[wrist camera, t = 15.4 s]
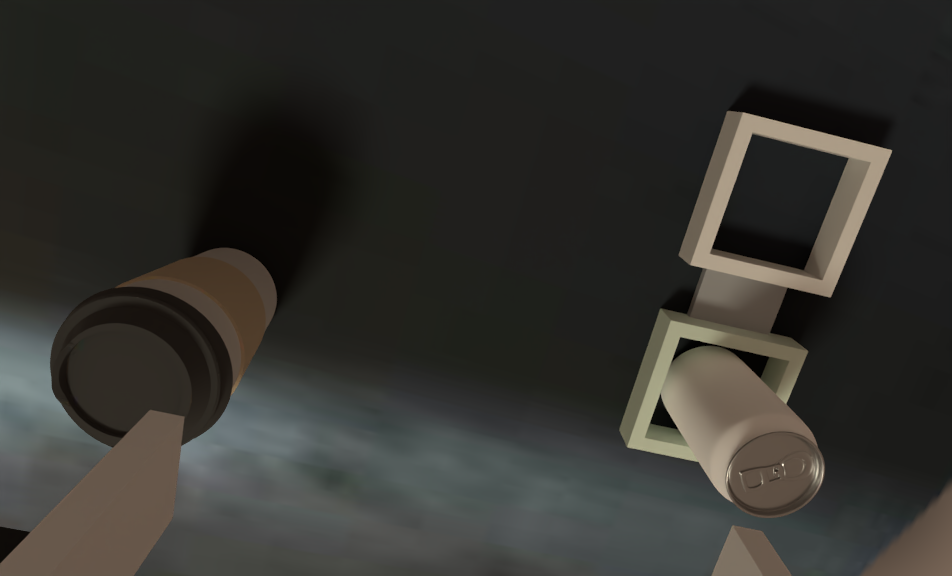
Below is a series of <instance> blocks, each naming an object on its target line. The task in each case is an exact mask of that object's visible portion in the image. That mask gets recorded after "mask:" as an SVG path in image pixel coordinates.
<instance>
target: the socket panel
mask: <svg viewBox="0 0 952 576" xmlns="http://www.w3.org/2000/svg"><path fill="white" fill-rule="evenodd" d="M752 134H755V135H759V136H763V137H767V138H771V139H775V140H779V141H783V142H787V143H791V144H795V145H799V146H803V147H807V148H811V149H815V150H819V151H823V152H827V153H831V154H835V155H839V156H842V157H846V158H849V159H848V162H847V164H846V167H845V169H844V172H843V174H842V177H841V179H840V182H839V184H838V187H837V189H836V192H835V194H834V197H833V199H832V202H831V204H830V207H829V209H828V212H827V214H826V217H825V219H824V222H823V224H822V227H821V229H820V232H819V234H818V237H817V239H816V242H815V244H814V246H813V249H812V251H811V254H810V256H809V259H808V261H807V264H806V266H805V269H804V270H801V269H797V268H792V267H788V266H784V265H779V264H775V263H771V262H767V261H762V260H758V259H754V258H750V257H745V256H741V255H737V254H733V253H728V252H724V251H720V250H716V249H711V248H712V246H713V243H714V240H715V237H716V234H717V232H718V229H719V226H720V223H721V220H722V217H723V215H724V212H725V209H726V206H727V203H728V200H729V198H730V195H731V192H732V189H733V186H734V183H735V181H736V178H737V175H738V172H739V169H740V166H741V164H742V161H743V158H744V155H745V152H746V150H747V147H748V144H749V141H750V138H751V135H752ZM891 152H892V150H889V149H885V148H881V147H877V146H873V145H869V144H865V143H861V142H857V141H854V140H850V139H846V138H842V137H838V136H834V135H830V134H826V133H822V132H818V131H814V130H810V129H806V128H802V127H799V126H795V125H791V124H787V123H783V122H779V121H775V120H771V119H767V118H763V117H759V116H755V115H751V114H747V113H744V112H734V111H727V114H726V117H725V120H724V123H723V126H722V128H721V131H720V134H719V137H718V140H717V143H716V146H715V149H714V152H713V155H712V158H711V161H710V164H709V167H708V170H707V173H706V176H705V179H704V182H703V184H702V187H701V190H700V193H699V196H698V199H697V202H696V205H695V208H694V211H693V214H692V217H691V220H690V223H689V226H688V229H687V232H686V235H685V237H684V240H683V243H682V246H681V249H680V252H679V255H678V256H680V257H681V258H682V259H683V260H685V261H686V262H687V263H688V264H690V265H693V266H697V267H701V268H703V270H702V273H701V276H700V279H699V281H698V284H697V287H696V290H695V293H694V296H693V298H692V301H691V304H690V307H689V310H688V313H687V314H684V313H679V312H675V311H670V310H666V309H661V308H660V311H659V314H658V317H657V320H656V323H655V326H654V329H653V332H652V335H651V338H650V341H649V344H648V346H647V349H646V352H645V355H644V358H643V361H642V364H641V367H640V370H639V373H638V376H637V379H636V382H635V385H634V388H633V391H632V394H631V397H630V400H629V402H628V405H627V408H626V411H625V414H624V417H623V420H622V423H621V426H620V429H619V430H620V432H621V435H622V437H623V439H624V441H625V444H626V446H627V447H629V448H634V449H639V450H643V451H648V452H653V453H658V454H663V455H668V456H673V457H677V458H682V459H687V460H692V461H697V462H699V461H698V460H697V458H696V457H695V455H694V453H693V452H692V450H691V449H690V447H689V445H688V444H687V442H686V440H685V439H684V437H683V436H682V434H681V432H680V431H679V430H677V429H673V428H668V427H663V426H658V425H654V424H650V421H651V418H652V415H653V412H654V410H655V407H656V404H657V401H658V398H659V395H660V393H661V390H662V387H663V384H664V381H665V379H666V376H667V373H668V370H669V367H670V364H671V362H672V359H673V356H674V353H675V350H676V347H677V345H678V342H679V339H680V337H683V338H688V339H692V340H697V341H701V342H706V343H710V344H715V345H719V346H724V347H728V348H733V349H737V350H742V351H746V352H751V353H755V354H760V355H764V356H769V359H768V361H767V364H766V366H765V369H764V371H763V374H762V376H761V380H762V381H763V382H764V383H765V384H766V385H767V386H768V387H769V388H770V389H771V390H772V391H773V392H774V393H775V394H776V395H777V396H778V397H779V398H780V399H781V400H782V401H783V402H784V403H785V404H786V403H787V401H788V398H789V396H790V393H791V391H792V389H793V386H794V384H795V382H796V379H797V377H798V374H799V372H800V370H801V367H802V365H803V362H804V360H805V358H806V355H807V353H808V351H807V350H806V349H805V348H804V347H802V346H801V345H800V344H798V343H797V342H796V341H795V340H793V339H792V338H790V337H786V336H781V335H777V334H772V333H770V331H771V328H772V326H773V323H774V321H775V318H776V316H777V313H778V311H779V308H780V306H781V303H782V301H783V298H784V296H785V293H786V291H787V288H792V289H796V290H801V291H805V292H809V293H813V294H818V295H822V296H826V297H831V296H832V293H833V291H834V288H835V286H836V284H837V281H838V279H839V276H840V274H841V272H842V269H843V267H844V265H845V262H846V260H847V257H848V255H849V253H850V250H851V248H852V245H853V243H854V241H855V238H856V236H857V233H858V231H859V229H860V226H861V224H862V222H863V219H864V217H865V214H866V212H867V210H868V207H869V205H870V202H871V200H872V198H873V195H874V193H875V190H876V188H877V186H878V183H879V181H880V179H881V176H882V174H883V171H884V169H885V167H886V164H887V162H888V159H889V157H890V155H891Z"/></svg>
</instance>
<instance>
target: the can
mask: <svg viewBox="0 0 952 576" xmlns="http://www.w3.org/2000/svg"><path fill="white" fill-rule="evenodd" d="M661 397H662V401H663V403H664V405H665V407H666V409H667V411H668V413H669V414H670V416H671V418H672V419H673V421H674V423H675V424H676V426H677V427H678V429H679V431H680V432H681V434H682V436H683V437H684V439H685V440H686V442H687V444H688V445H689V447H690V449H691V450H692V452H693V453H694V455H695V457H696V458H697V460H698V461H699V463H700V465H701V466H702V468H703V469H704V471H705V473H706V474H707V476H708V477H709V479H710V480H711V482H712V483H713V485H714V486H715V488H716V489H717V490H718V491H719V492H720V493H721V494H722V495H723V496H724V497H725V498H726V499H728V500H730V501H731V502H733V503H734V504H735V505H736V506H737V507H738V508H739V509H741V510H742V511H744V512H746V513H748V514H750V515H753V516H756V517H762V518H774V517H781V516H785V515H788V514H790V513H793V512H795V511H797V510H799V509H800V508H802V507H803V506H805V505H806V504H807V503H808V502H809V501H810V500H811V499H812V498H813V497H814V496H815V495H816V493H817V492H818V490H819V489H820V487H821V484H822V482H823V479H824V473H825V464H824V459H823V456H822V454H821V452H820V450H819V449H818V447H817V443H816V440H815V438H814V436H813V434H812V432H811V431H810V430H809V428H808V427H807V426H806V425H805V424H804V422H803V421H802V420H801V419H800V418H799V417H798V416H797V415H796V414H795V413H794V412H793V411H792V410H791V409H790V408H789V407H788V406H787V405H786V404H785V403H784V402H783V401H782V400H781V399H780V398H779V397H778V396H777V395H776V394H775V393H774V392H773V391H772V390H771V389H770V388H769V387H768V386H767V385H766V384H765V383H764V382H763V381H762V380H761V379H760V378H759V377H758V376H757V375H756V374H755V373H754V372H753V371H752V370H751V369H750V368H749V367H748V366H747V365H746V364H745V363H744V362H743V361H742V360H741V359H739V358H738V357H737V356H736V355H735V354H734V353H732V352H730V351H729V350H727V349H724V348H721V347H717V346H701V347H696V348H693V349H690V350H688V351H686V352H684V353H682V354H681V355H679V356H678V357H677V358H676V359H675V360H674V361H673V362H672V363H671V364H670V367H669V370H668V373H667V376H666V379H665V381H664V384H663V387H662V390H661Z"/></svg>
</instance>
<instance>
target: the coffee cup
mask: <svg viewBox="0 0 952 576" xmlns="http://www.w3.org/2000/svg"><path fill="white" fill-rule="evenodd" d="M276 304H277V293H276V288H275V284H274V282H273V279H272V277H271V275H270V274H269V272H268V271H267V269H266V268H265V267H264V266H263V265H262V263H260V262H259V261H258V260H257V259H256V258H254V257H253V256H251V255H249V254H248V253H246V252H243V251H240V250H237V249H232V248H216V249H211V250H208V251H206V252H203V253H201V254H199V255H196V256H194V257H190V258H185V259H182V260H179V261H176V262H174V263H171V264H169V265H167V266H164V267H162V268H159V269H157V270H154V271H152V272H149V273H147V274H145V275H142V276H140V277H137V278H135V279H132V280H130V281H127V282H125V283H123V284H121V285H119V286H117V287H116V288H113V289H108V290H105V291H102V292H99V293H97V294H95V295H93V296H91V297H89V298H87V299H86V300H84V301H83V302H82V303H80V304H79V305H78V306H77V307H76V308H75V309H74V310H73V311H72V312H71V313H70V314H69V316H68V317H67V318H66V320H65V321H64V322H63V324H62V325H61V327H60V329H59V330H58V332H57V334H56V337H55V339H54V342H53V346H52V350H51V358H50V369H51V377H52V390H53V393H54V395H55V397H56V398H57V399H58V401H59V402H60V403H61V404H62V406H63V407H64V409H65V410H66V412H67V413H68V415H69V416H70V417H71V418H72V420H73V421H74V422H75V423H76V424H77V425H78V426H79V427H80V428H81V429H83V430H84V431H85V432H86V433H87V434H89V435H90V436H92V437H93V438H95V439H96V440H98V441H100V442H102V443H104V444H106V445H108V446H111V447H114V446H115V445H116V444H117V443H118V442H119V441H120V440H121V439H122V438H123V437H124V436H125V435H126V434H127V433H128V432H129V431H130V430H131V429H132V428H133V427H134V426H135V425H136V424H137V423H138V422H139V421H140V420H141V419H142V418H143V417H144V416H145V415H146V413H147V412H148V411H149V410H153V411H158V412H164V413H169V414H174V415H179V416H184V426H183V434H182V443H181V446H182V445H184V444H186V443H187V442H189V441H190V440H192V439H194V438H196V437H198V436H199V435H201V434H203V433H204V432H206V431H207V430H208V429H209V428H211V427H212V426H213V425H214V424H215V423H216V422H217V420H218V419H219V418H220V417H221V415H222V414H223V412H224V410H225V409H226V407H227V404H228V402H229V399H230V396H231V395H232V393H233V392H234V391H235V389H236V387H237V386H238V384H239V382H240V380H241V378H242V376H243V374H244V373H245V371H246V369H247V367H248V365H249V363H250V361H251V359H252V358H253V356H254V354H255V352H256V350H257V348H258V346H259V344H260V343H261V340H262V338H263V335H264V332H265V330H266V328H267V326H268V325H269V323H270V321H271V319H272V318H273V315H274V313H275V309H276Z"/></svg>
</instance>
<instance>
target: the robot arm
mask: <svg viewBox="0 0 952 576" xmlns="http://www.w3.org/2000/svg"><path fill="white" fill-rule="evenodd" d="M183 426H184V416H179V415H174V414H169V413H164V412H158V411H153V410H149V411H148V412H147V413H146V415H145V416H144V417H143V418H142V419H141V420H140V421H139V422H138V423H137V424H136V425H135V426H134V427H133V428H132V429H131V430H130V431H129V432H128V433H127V434H126V435H125V436H124V437H123V438H122V439H121V440H120V441H119V442H118V443H117V444H116V445H115V446H114V447H113V448H112V449H111V450H110V451H109V452H108V453H107V455H106V456H105V457H104V458H103V459H102V460H101V461H100V462H99V463H98V464H97V465H96V466H95V467H94V468H93V469H92V470H91V471H90V472H89V473H88V474H87V475H86V476H85V477H84V478H83V479H82V480H81V481H80V482H79V483H78V484H77V485H76V486H75V487H74V488H73V489H72V490H71V491H70V492H69V493H68V495H67V496H66V497H65V498H64V499H63V500H62V501H61V502H60V503H59V504H58V505H57V506H56V507H55V508H54V509H53V510H52V511H51V512H50V513H49V514H48V515H47V516H46V517H45V518H44V519H43V520H42V521H41V522H40V523H39V524H38V525H37V526H36V527H35V528H34V529H33V530H32V531H31V532H27V531H21V530H16V529H10V528H5V527H0V576H134V574H135V573H136V571H137V570H138V568H139V567H140V565H141V564H142V562H143V561H144V560H145V558H146V557H147V555H148V554H149V552H150V551H151V549H152V548H153V546H154V545H155V543H156V542H157V540H158V539H159V537H160V536H161V534H162V533H163V532H164V530H165V529H166V527H167V526H168V524H169V523H170V521H171V520H172V518H173V511H174V502H175V494H176V485H177V477H178V468H179V460H180V451H181V443H182V434H183ZM712 576H792V575H791V574H790V572H789V571H788V569H787V568H786V566H785V565H784V563H783V562H782V560H781V559H780V557H779V556H778V554H777V553H776V551H775V550H774V548H773V547H772V545H771V544H770V542H769V541H768V539H767V538H766V536H765V535H764V533H763V532H762V531H759V530H753V529H748V528H743V527H738V526H733V525H732V528H731V530H730V533H729V535H728V537H727V540H726V542H725V545H724V547H723V549H722V552H721V554H720V557H719V559H718V561H717V564H716V566H715V569H714V571H713V573H712Z"/></svg>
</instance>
